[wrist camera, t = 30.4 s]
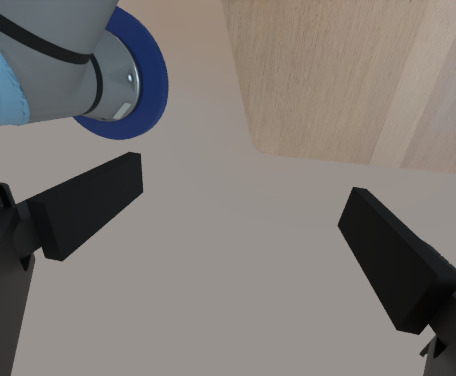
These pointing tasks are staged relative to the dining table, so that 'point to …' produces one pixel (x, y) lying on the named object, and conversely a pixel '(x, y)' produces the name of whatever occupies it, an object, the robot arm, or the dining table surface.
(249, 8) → the dining table surface
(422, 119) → the dining table surface
